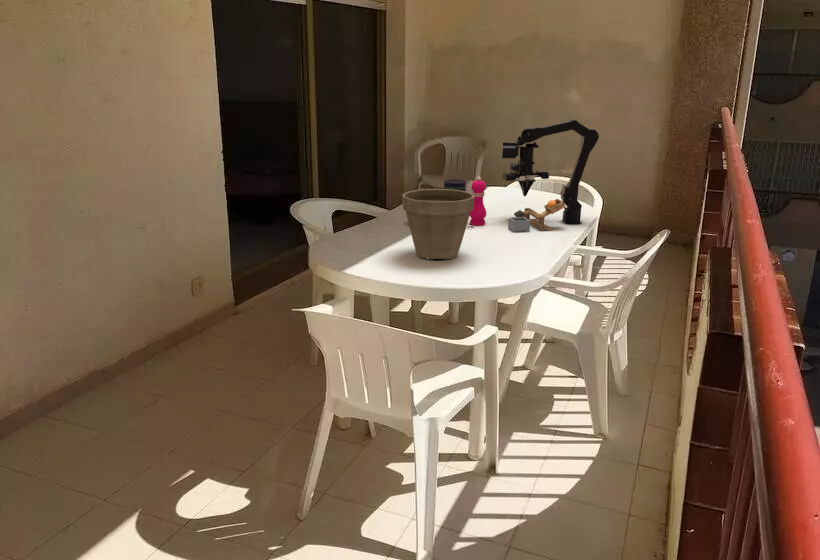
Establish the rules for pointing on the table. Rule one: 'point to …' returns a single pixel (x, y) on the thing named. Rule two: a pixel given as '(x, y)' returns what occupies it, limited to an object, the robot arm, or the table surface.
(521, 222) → the grey open box
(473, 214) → the pepper mill
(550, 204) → the ball
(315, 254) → the table surface
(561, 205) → the catapult lever
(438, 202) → the plant pot
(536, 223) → the frame
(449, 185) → the storage jar
